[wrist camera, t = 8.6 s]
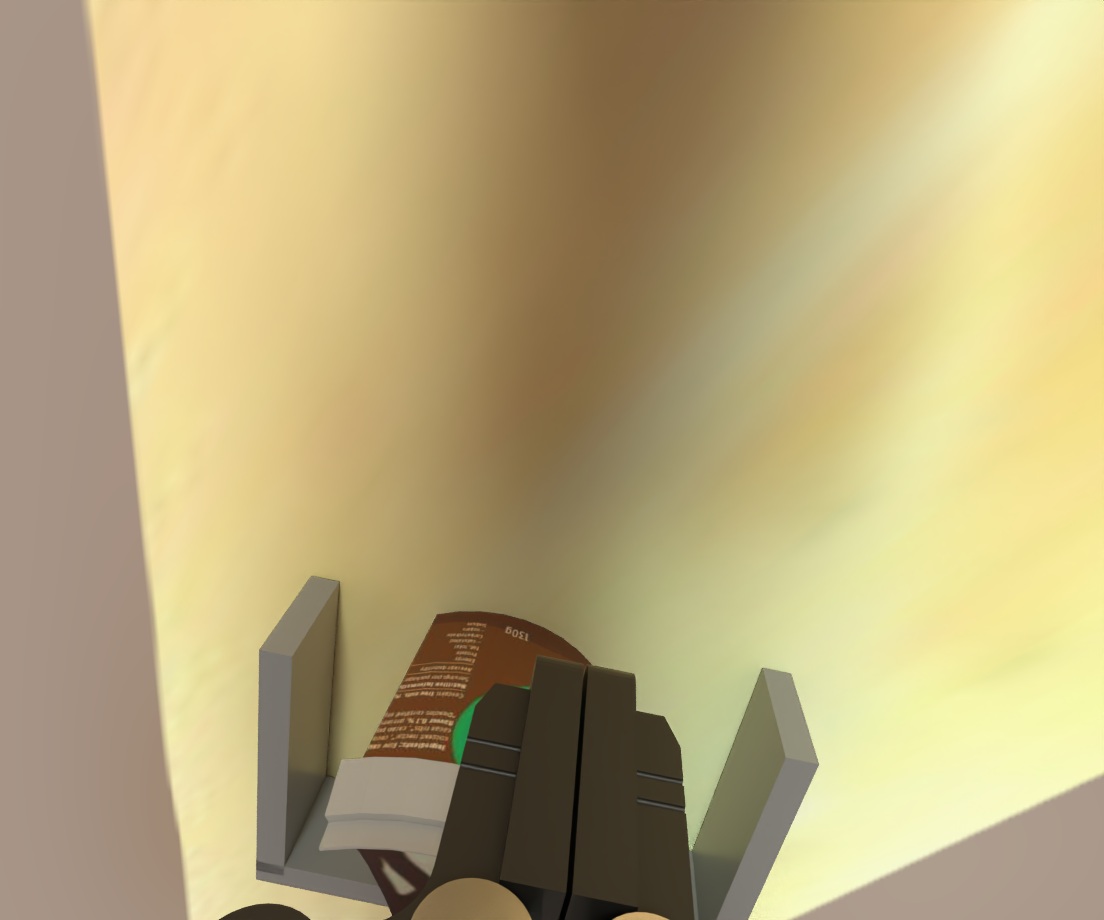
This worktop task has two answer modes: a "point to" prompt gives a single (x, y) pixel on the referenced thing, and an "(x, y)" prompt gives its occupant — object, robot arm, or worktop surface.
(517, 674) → the food container
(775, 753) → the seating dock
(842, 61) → the worktop surface
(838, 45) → the worktop surface
